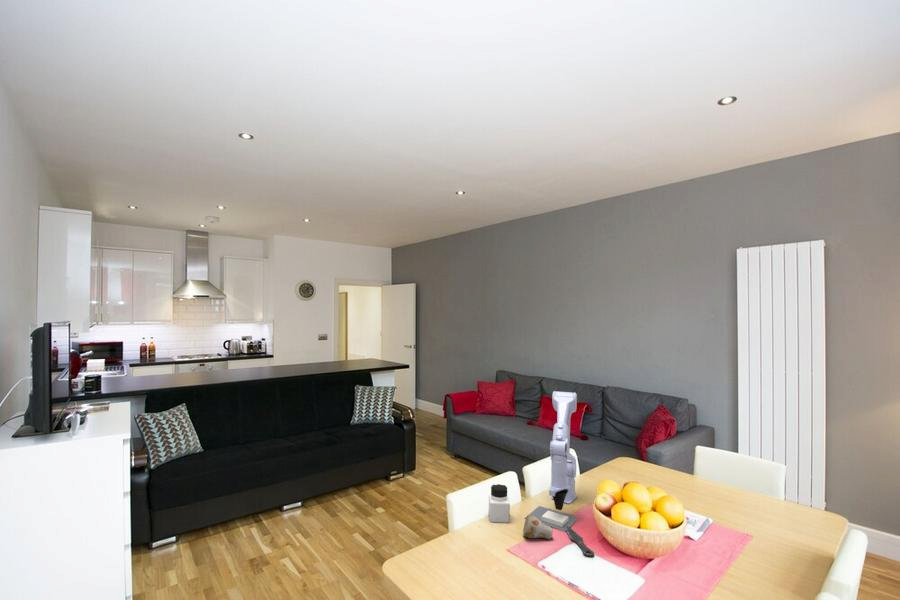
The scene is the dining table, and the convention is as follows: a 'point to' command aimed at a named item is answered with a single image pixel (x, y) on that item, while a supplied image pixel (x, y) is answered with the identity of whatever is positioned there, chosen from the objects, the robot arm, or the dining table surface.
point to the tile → (555, 518)
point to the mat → (542, 510)
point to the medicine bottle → (499, 504)
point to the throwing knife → (579, 541)
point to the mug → (536, 528)
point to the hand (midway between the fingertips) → (558, 509)
